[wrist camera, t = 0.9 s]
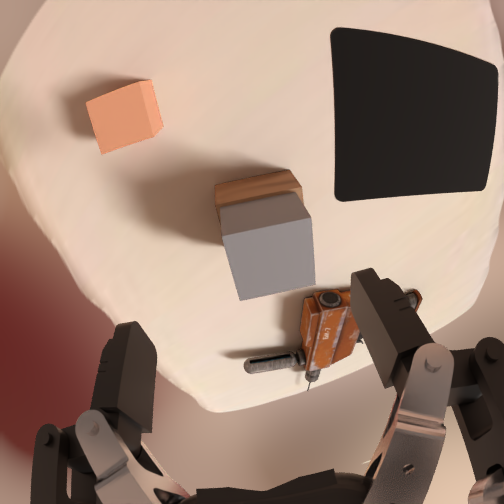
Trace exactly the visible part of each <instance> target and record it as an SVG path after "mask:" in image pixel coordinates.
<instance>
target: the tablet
mask: <svg viewBox="0 0 504 504" xmlns="http://www.w3.org/2000/svg"><path fill="white" fill-rule="evenodd" d="M331 48H332V61H333V78H334V100H335V197H336V199H337V200H339V201H341V202H346V201H356V200H366V199H376V198H387V197H399V196H411V195H424V194H438V193H454V192H472V191H482V190H483V189H484V188H485V186H486V183H487V178H488V173H489V168H490V163H491V157H492V150H493V143H494V135H495V127H496V116H497V102H498V82H499V76H498V70H497V68H496V66H495V65H493V64H491V63H488V62H486V61H483V60H481V59H478V58H475V57H473V56H470V55H467V54H464V53H461V52H458V51H455V50H452V49H449V48H446V47H442V46H439V45H435V44H432V43H428V42H424V41H420V40H416V39H411V38H407V37H402V36H397V35H392V34H386V33H380V32H374V31H367V30H360V29H351V28H336V29H334V30H333V31H332V33H331Z"/></svg>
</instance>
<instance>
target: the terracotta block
mask: <svg viewBox="0 0 504 504" xmlns="http://www.w3.org/2000/svg"><path fill="white" fill-rule="evenodd" d="M86 106H87V110H88V113H89V117H90V120H91V123H92V126H93V130H94V133H95V136H96V139H97V142H98V145H99V148H100V151H101V154H105V153H107V152H110V151H113V150H116V149H118V148H121V147H124V146H127V145H130V144H133V143H136V142H139V141H142V140H145V139H149V138H152V137H154V136H155V135H156V134H157V133H158V132H159V131H160V130H161V129H162V128H163V127H164V126H163V122H162V118H161V115H160V111H159V107H158V103H157V100H156V96H155V92H154V88H153V84H152V80H146V81H139V82H136V83H133V84H130V85H128V86H125V87H122V88H119V89H117V90H114V91H112V92H109V93H107V94H104V95H102V96H100V97H97V98H95V99H93V100H90V101H88V102H86Z"/></svg>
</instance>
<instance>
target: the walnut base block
mask: <svg viewBox="0 0 504 504" xmlns="http://www.w3.org/2000/svg"><path fill="white" fill-rule="evenodd" d="M292 192H296V193H297V195H298V197H299V198H300V200H301V201H302V203H303V205H304V202H303V193H302V186H301V185H300V184H299V182H298V181H297V179H296V178H295V177H294V175H293V174H292V172H291V171H290V170H286V171H280V172H275V173H270V174H265V175H260V176H255V177H250V178H245V179H240V180H236V181H231V182H227V183H222V184H218V185H215V206H216V210H217V213H218V217H219V221H220V225H221V217H220V207H225V206H229V205H234V204H238V203H243V202H248V201H252V200H257V199H262V198H267V197H272V196H277V195H282V194H287V193H292Z"/></svg>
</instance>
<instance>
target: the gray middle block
mask: <svg viewBox="0 0 504 504" xmlns="http://www.w3.org/2000/svg"><path fill="white" fill-rule="evenodd" d="M220 217H221V235H222V240H223V243H224V247H225V251H226V254H227V258H228V261H229V265H230V268H231V272H232V275H233V279H234V282H235V286H236V289H237V293H238V296H239V299H240V301H243V300H247V299H252V298H257V297H262V296H266V295H271V294H275V293H280V292H285V291H289V290H293V289H298V288H302V287H307V286H311V285H315V284H316V283H315V264H314V247H313V233H312V220H311V216H310V215H309V213H308V211H307V210H306V208H305V206H304V205H303V203H302V201H301V200H300V198H299V197H298V195H297V193H296V192H292V193H287V194H282V195H277V196H272V197H267V198H262V199H257V200H252V201H248V202H243V203H238V204H234V205H229V206H225V207H220Z"/></svg>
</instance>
